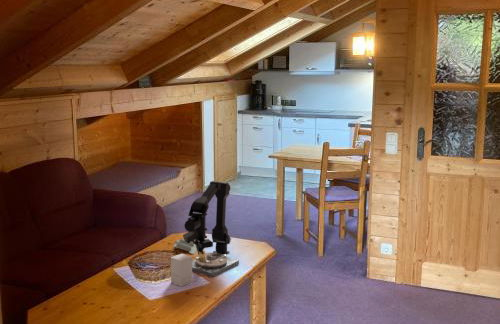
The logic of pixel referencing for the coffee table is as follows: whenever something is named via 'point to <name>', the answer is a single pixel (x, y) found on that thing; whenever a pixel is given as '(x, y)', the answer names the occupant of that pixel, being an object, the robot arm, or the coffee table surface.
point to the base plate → (216, 270)
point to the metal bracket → (185, 246)
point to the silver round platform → (211, 259)
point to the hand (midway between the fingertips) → (199, 255)
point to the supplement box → (181, 269)
